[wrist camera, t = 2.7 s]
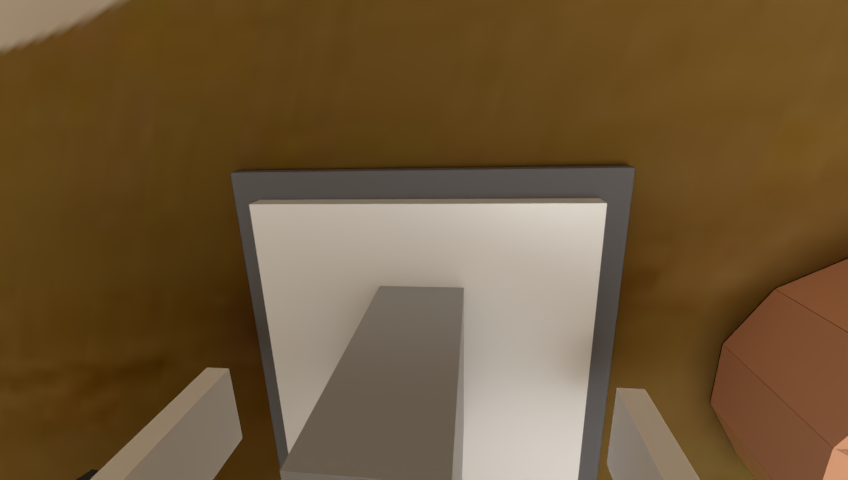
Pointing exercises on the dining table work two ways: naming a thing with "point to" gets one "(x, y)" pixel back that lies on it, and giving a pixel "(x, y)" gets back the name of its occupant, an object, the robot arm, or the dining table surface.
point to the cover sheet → (502, 309)
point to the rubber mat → (457, 184)
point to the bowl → (790, 381)
